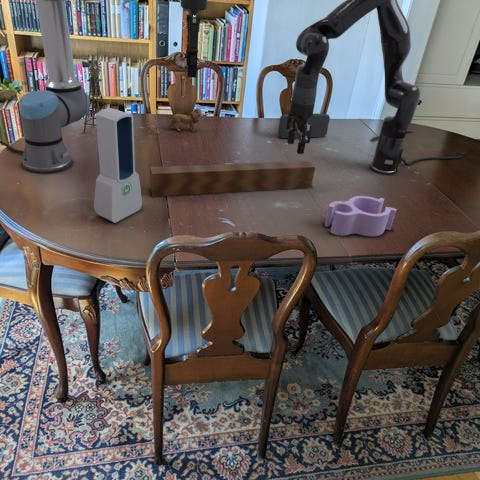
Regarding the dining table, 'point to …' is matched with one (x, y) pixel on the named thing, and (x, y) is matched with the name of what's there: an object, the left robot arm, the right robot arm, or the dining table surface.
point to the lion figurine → (187, 119)
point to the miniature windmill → (94, 75)
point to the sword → (378, 137)
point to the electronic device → (116, 166)
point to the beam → (230, 178)
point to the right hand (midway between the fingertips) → (295, 148)
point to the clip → (359, 216)
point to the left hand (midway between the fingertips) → (191, 71)
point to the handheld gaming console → (317, 122)
